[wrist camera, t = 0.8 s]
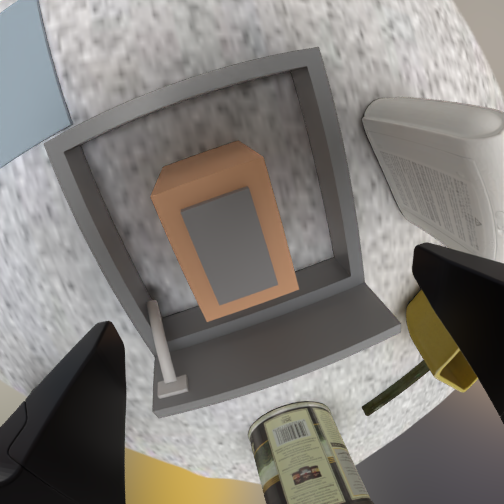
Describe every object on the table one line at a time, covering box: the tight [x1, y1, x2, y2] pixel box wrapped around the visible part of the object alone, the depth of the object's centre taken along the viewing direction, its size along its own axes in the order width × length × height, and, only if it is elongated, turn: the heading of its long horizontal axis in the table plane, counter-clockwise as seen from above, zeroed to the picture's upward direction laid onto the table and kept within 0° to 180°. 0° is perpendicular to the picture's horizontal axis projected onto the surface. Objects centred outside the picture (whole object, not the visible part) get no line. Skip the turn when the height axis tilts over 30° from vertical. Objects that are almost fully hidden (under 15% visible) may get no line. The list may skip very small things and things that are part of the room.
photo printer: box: [362, 97, 504, 263], centre depth 16 cm, size 10×4×12 cm, turn 34°
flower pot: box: [406, 289, 478, 392], centre depth 25 cm, size 9×9×9 cm
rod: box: [362, 360, 430, 416], centre depth 32 cm, size 31×1×2 cm, turn 129°
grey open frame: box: [44, 47, 401, 418], centre depth 17 cm, size 16×17×8 cm
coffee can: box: [248, 402, 374, 504], centre depth 27 cm, size 10×10×14 cm
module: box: [151, 141, 299, 322], centre depth 17 cm, size 5×7×7 cm
